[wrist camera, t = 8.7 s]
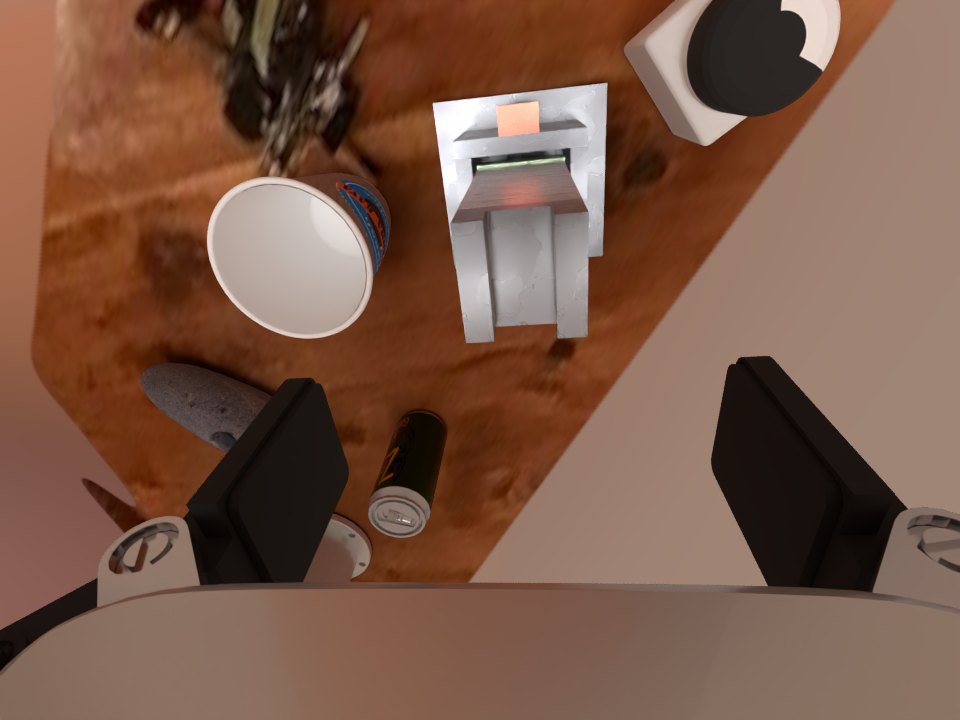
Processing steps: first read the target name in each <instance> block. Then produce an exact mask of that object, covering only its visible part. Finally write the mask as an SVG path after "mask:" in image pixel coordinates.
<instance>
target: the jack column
mask: <svg viewBox="0 0 960 720" xmlns="http://www.w3.org/2000/svg"><path fill="white" fill-rule="evenodd" d="M450 227H451V234H452V242H453V249H454V256H455V264H456V271H457V279H458V286H459V294H460V301H461V309H462V316H463V324H464V331H465V339H466V343H479V342H495V333H496V327H499V326H516V325H534V324H551V323H556V329H557V337H558V338H572V337H587V335H588V246H589V211H588V209H587V207H586V205H585V203H584V201H583V199H582V197H581V195H580V193H579V191H578V189H577V187H576V185H575V183H574V181H573V179H572V177H571V174H570V172H569V170H568V168H567V166H566V164H565V157H564V156H561V154H559V155H549V156H539V157H529V158H519V159H509V160H499V161H489V162H481V164H478V165H477V172H476V174H475V176H474V178H473V180H472V182H471V184H470V186H469V188H468V190H467V192H466V194H465V196H464V197H463V199H462V201H461V203H460V205H459V207H458V209H457V211H456V213H455V215H454V217H453V219H452V221H451V223H450Z"/></svg>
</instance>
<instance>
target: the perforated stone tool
mask: <svg viewBox="0 0 960 720" xmlns="http://www.w3.org/2000/svg"><path fill="white" fill-rule="evenodd" d="M140 379H141V385H142V387H143V389H144V391H145V393H146V394H147V396H148V397H149V398H150V400H151V401H152V402H153V403H154V404H155V405H156V406H157V407H158V408H159V409H160V410H162V411H163V412H164V413H165V414H166V415H167V416H168V417H170V418H171V419H173V420H174V421H176V422H177V423H179V424H180V425H181V426H183V427H184V428H186V429H188V430H189V431H190V432H192V433H193V434H195V435H197V436H198V437H200V438H201V439H203V440H204V441H206V442H207V443H209V444H211V445H213V446H215V447H216V448H218V449H220V450H221V451H223V452H226V453H228V451H229V450H230V449H231V448H232V446H233V445H234V444H235V443H236V441H237V440H238V439H239V438H240V436H241V435H242V434H243V433H244V431H245V430H246V429H247V428H248V426H249V425H250V424H251V423H252V421H253V420H254V419H255V418H256V416H257V415H258V414H259V413H260V411H261V410H262V409H263V407H264V406H265V405H266V404H267V402H268V401H269V400H270V399H271V397H272V396H271V395H269V394H267V393H265V392H263V391H260V390H258V389H256V388H254V387H252V386H250V385H247V384H245V383H242V382H240V381H238V380H235V379H233V378H230V377H228V376H225V375H222V374H219V373H216V372H213V371H211V370H208V369H205V368H201V367H198V366H194V365H188V364H181V363H160V364H154V365H152V366H150V367H148V368H147V369H146V370H145V371H144V372H143V373H142V377H140Z"/></svg>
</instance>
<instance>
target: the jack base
mask: <svg viewBox="0 0 960 720" xmlns="http://www.w3.org/2000/svg"><path fill="white" fill-rule="evenodd" d="M433 110H434V117H435V124H436V132H437V139H438V147H439V154H440V161H441V169H442V176H443V183H444V191H445V198H446V206H447V213H448V220H449V228H450V235H451V243H452V250H453V257H454V265H455V267H456V264H455V256H454V249H453V242H452V234H451V227H450V223H451V221H452V219H453V217H454V215H455V213H456V211H457V209H458V207H459V205H460V203H461V201H462V199H463V197H464V196H465V194H466V192H467V190H468V188H469V186H470V184H471V182H472V180H473V178H474V176H475V174H476V172H477V165H478V164H481V162H489V161H499V160H509V159H519V158H529V157H539V156H549V155H559V154H561V156H564V157H565V164H566V166H567V168H568V170H569V172H570V174H571V177H572V179H573V181H574V183H575V185H576V187H577V189H578V191H579V193H580V195H581V197H582V199H583V201H584V203H585V205H586V207H587V209H588V211H589V246H588V257H594V256H603V224H604V186H605V149H606V111H607V83H598V84H590V85H581V86H572V87H564V88H555V89H547V90H538V91H530V92H521V93H512V94H504V95H495V96H487V97H478V98H470V99H461V100H452V101H444V102H436V103H433Z"/></svg>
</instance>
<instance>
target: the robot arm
mask: <svg viewBox="0 0 960 720" xmlns="http://www.w3.org/2000/svg"><path fill="white" fill-rule="evenodd" d="M711 465H712V470H713V473H714V476H715V478H716V480H717V482H718V484H719V486H720V488H721V490H722V492H723V494H724V496H725V498H726V500H727V502H728V505H729V506H730V509H731V511H732V513H733V515H734V517H735V519H736V521H737V523H738V525H739V527H740V529H741V531H742V533H743V535H744V537H745V540H746V541H747V544H748V546H749V548H750V550H751V552H752V554H753V556H754V558H755V560H756V562H757V564H758V566H759V568H760V570H761V572H762V574H763V576H764V578H765V581H766V583H767V585H768V586H734V585H733V586H732V585H675V584H671V585H670V584H589V583H588V584H587V583H438V582H350V580H351V578H353V577H356V576H358V575H360V574H361V573H362V572H364V571H365V569H366V568H367V567H368V565H369V562H370V559H371V555H372V547H371V544H370V541H369V539H368V537H367V536H366V534H365V533H364V532H363V531H362V530H361V529H360V528H359V527H358V526H357V525H355V524H354V523H353V522H351V521H349V520H348V519H346V518H344V517H341V516H339V515H337V514H333V513H334V511H335V508H336V506H337V504H338V501H339V499H340V497H341V495H342V492H343V490H344V488H345V485H346V483H347V480H348V476H349V469H348V464H347V461H346V458H345V455H344V452H343V449H342V446H341V443H340V440H339V436H338V433H337V430H336V427H335V424H334V421H333V418H332V415H331V411H330V408H329V405H328V402H327V399H326V396H325V393H324V390H323V387H322V386H321V384H319V383H315V381H314V380H313V379H312V378H296V379H287V380H285V381H284V382H283V384H282V385H281V386H280V387H279V389H278V390H277V391H276V392H275V394H274V395H273V396H272V397H271V399H270V400H269V401H268V402H267V404H266V405H265V406H264V407H263V409H262V410H261V411H260V413H259V414H258V415H257V416H256V418H255V419H254V420H253V421H252V423H251V424H250V425H249V426H248V428H247V429H246V430H245V431H244V433H243V434H242V435H241V436H240V438H239V439H238V440H237V441H236V443H235V444H234V445H233V446H232V448H231V449H230V450H229V451H228V453H227V454H226V455H225V456H224V458H223V459H222V460H221V462H220V463H219V464H218V465H217V467H216V468H215V469H214V470H213V472H212V473H211V474H210V475H209V477H208V478H207V479H206V480H205V482H204V483H203V484H202V485H201V487H200V488H199V489H198V490H197V492H196V493H195V494H194V495H193V497H192V498H191V499H190V500H189V502H188V503H187V504H186V505H187V507H188V509H189V510H190V511H189V512H188V513H187V514H186V516H185V517H184V518H183V519H181V518H179V517H175V516H165V517H159V518H155V519H152V520H149V521H147V522H144V523H142V524H140V525H138V526H136V527H134V528H132V529H131V530H129V531H128V532H126V533H125V534H123V535H122V536H121V537H119V538H118V539H117V540H116V541H115V542H114V543H113V544H112V545H111V546H110V547H109V548H108V549H107V550H106V552H105V554H104V555H103V557H102V558H101V560H100V563H99V567H98V578H97V579H95V580H93V581H91V582H89V583H87V584H85V585H84V586H81V587H80V588H78V589H76V590H74V591H72V592H70V593H68V594H67V595H65V596H63V597H61V598H59V599H57V600H55V601H54V602H52V603H50V604H48V605H46V606H44V607H42V608H41V609H39V610H37V611H35V612H33V613H31V614H29V615H28V616H26V617H24V618H22V619H20V620H18V621H16V622H14V623H13V624H11V625H9V626H7V627H5V628H3V629H1V630H0V720H960V514H957V513H953V512H949V511H946V510H942V509H935V508H928V507H922V508H910V509H907V507H906V506H905V505H904V504H903V503H902V502H901V501H900V500H899V499H898V497H897V496H896V495H895V493H894V492H893V491H892V490H891V489H890V488H889V487H888V486H887V485H886V483H885V482H884V481H883V480H882V479H881V478H880V477H879V476H878V475H877V474H876V472H875V471H874V470H873V469H872V468H871V467H870V466H869V465H868V464H867V462H866V461H865V460H864V459H863V458H862V457H861V456H860V455H859V454H858V452H857V451H856V450H855V449H854V448H853V447H852V446H851V445H850V444H849V443H848V441H847V440H846V439H845V438H844V437H843V436H842V435H841V434H840V433H839V431H838V430H837V429H836V428H835V427H834V426H833V425H832V424H831V423H830V422H829V420H828V419H827V418H826V417H825V416H824V415H823V414H822V413H821V411H820V410H819V409H818V408H817V407H816V406H815V405H814V404H813V403H812V401H811V400H810V399H809V398H808V397H807V396H806V395H805V394H804V393H803V391H802V390H801V389H800V388H799V387H798V386H797V385H796V384H795V383H794V381H793V380H791V378H790V377H789V376H788V375H787V374H786V373H785V372H784V370H783V369H782V368H781V367H780V366H779V365H778V364H777V363H776V362H775V360H774V359H773V358H771V357H770V356H757V357H741V358H739V359H738V361H737V362H736V364H731V365H730V366H729V367H728V370H727V375H726V381H725V386H724V392H723V397H722V403H721V408H720V413H719V419H718V424H717V429H716V435H715V441H714V446H713V452H712V458H711Z"/></svg>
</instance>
